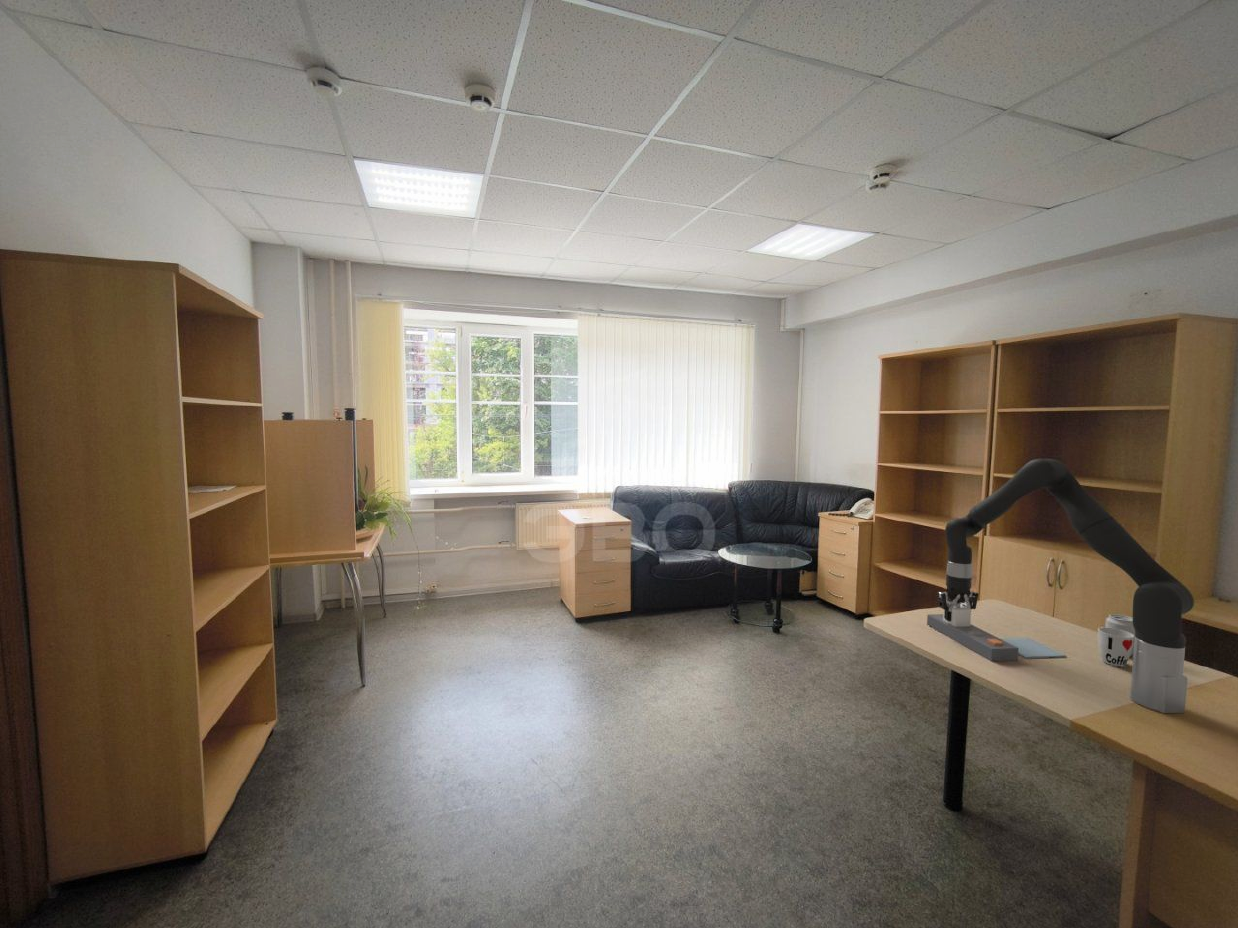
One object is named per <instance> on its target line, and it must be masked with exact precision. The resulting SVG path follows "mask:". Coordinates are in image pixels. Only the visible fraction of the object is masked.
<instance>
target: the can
mask: <svg viewBox="0 0 1238 928" xmlns="http://www.w3.org/2000/svg"><path fill="white" fill-rule="evenodd" d="M1104 627H1107V628H1114V629H1119V630H1123V631H1126V632H1129V633H1131V634H1133V635H1134V640H1133V646H1132V651H1131V654H1130V657H1132V656H1133V654H1134V642H1135V629H1134V627H1133V617H1131V616H1128V615H1123V614H1115V613H1113V614H1112V613H1111V614H1109V615H1108V617H1106V618H1105V626H1104Z"/></svg>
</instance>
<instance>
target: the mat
mask: <svg viewBox="0 0 1238 928" xmlns="http://www.w3.org/2000/svg"><path fill="white" fill-rule="evenodd" d="M999 639H1001V640H1003V641H1005V642H1007V643H1009V644H1011V645H1013V646H1015V647H1017V648H1018V657H1022V658H1024V659H1049V657H1056V658H1066V657H1067V655H1066V654H1064V653H1061V652H1060V651H1058V650H1055V649H1053V648H1051V647H1049V646H1047V645H1045V644H1043V643H1041V642H1039V641H1036V640H1034V639H1032V638H1030V637H1011V638H1010V637H1008V638H1007V637H1004V638H999Z"/></svg>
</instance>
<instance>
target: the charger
mask: <svg viewBox="0 0 1238 928" xmlns="http://www.w3.org/2000/svg"><path fill="white" fill-rule="evenodd" d="M948 607H949V606H948ZM944 611H945V610H944V609H943V612H942V614H943V621H945V622H947V623H949V624H951V625H953V626H954V627H960V626H970V624H971V623H972V622H971V621H972V619H971V618H972V609H969V608H966V607H965V606H962V604H961V603H956V605H955V606H954V607H953V608H952V611H951V612H952V616H951V621H950V622H949V621H947V620H945V618H944Z"/></svg>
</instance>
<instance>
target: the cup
mask: <svg viewBox="0 0 1238 928" xmlns="http://www.w3.org/2000/svg"><path fill="white" fill-rule="evenodd" d="M1133 640H1134V635H1133V634H1131V633H1129V632H1126V631H1123V630H1119V629H1114V628H1107V627H1105V626H1104V627H1101V626H1100V627H1098V628H1097V642H1098V649H1099V654H1100V656H1101V657H1100V658H1101V660H1102V662H1103V663H1104V662H1105V663H1104V664H1106V663H1107V664H1106V665H1109V664H1110V665H1109V666H1112V665H1114V666H1113V667H1117V666H1121V667H1120V668H1123V666H1124V667H1126V665H1127V663H1128V661H1129V659H1130V657H1131V656H1130V654H1131V651H1132V646H1133Z"/></svg>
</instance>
